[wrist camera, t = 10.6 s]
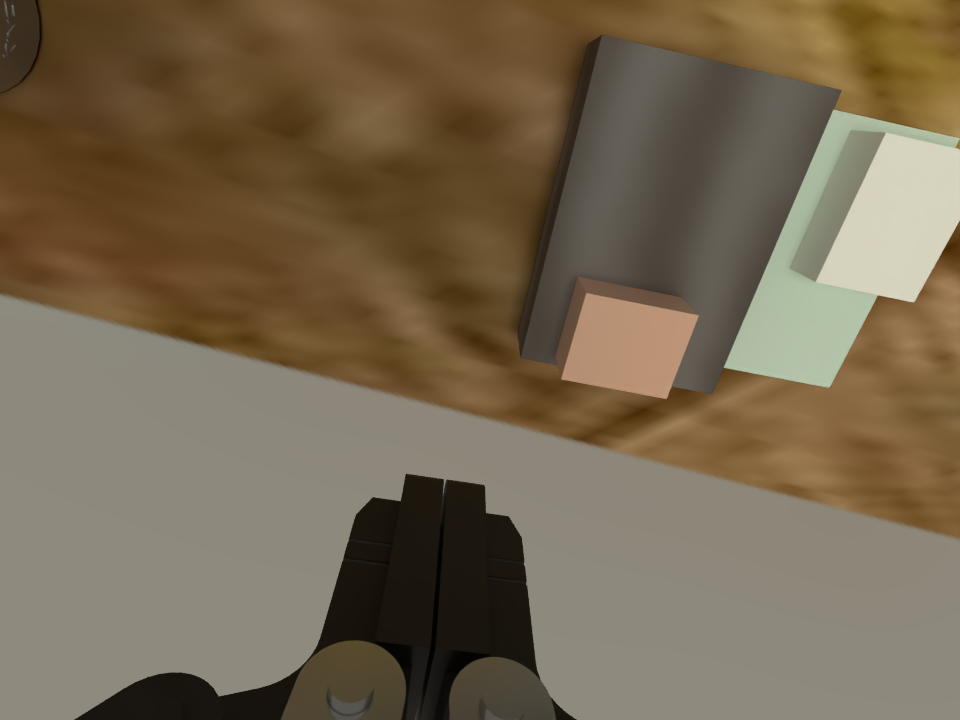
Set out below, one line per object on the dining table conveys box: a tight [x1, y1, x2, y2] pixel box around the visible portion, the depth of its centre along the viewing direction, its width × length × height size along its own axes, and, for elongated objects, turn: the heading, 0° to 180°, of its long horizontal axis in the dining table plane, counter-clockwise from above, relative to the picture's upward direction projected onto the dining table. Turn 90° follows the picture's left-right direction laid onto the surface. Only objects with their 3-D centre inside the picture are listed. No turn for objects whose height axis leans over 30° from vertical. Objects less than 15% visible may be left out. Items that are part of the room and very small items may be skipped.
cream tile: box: [790, 130, 960, 302], centre depth 31 cm, size 6×8×3 cm
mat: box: [724, 110, 960, 388], centre depth 34 cm, size 9×16×1 cm, turn 169°
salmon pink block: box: [555, 277, 699, 399], centre depth 31 cm, size 6×5×3 cm
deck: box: [518, 35, 842, 394], centre depth 32 cm, size 12×17×4 cm
